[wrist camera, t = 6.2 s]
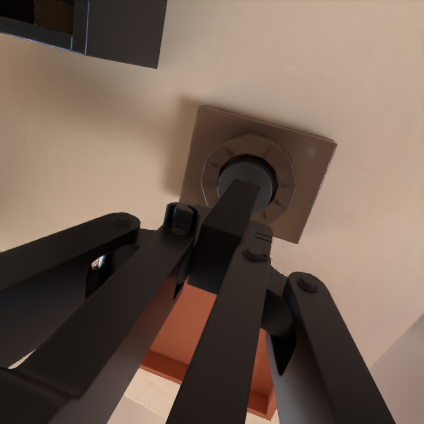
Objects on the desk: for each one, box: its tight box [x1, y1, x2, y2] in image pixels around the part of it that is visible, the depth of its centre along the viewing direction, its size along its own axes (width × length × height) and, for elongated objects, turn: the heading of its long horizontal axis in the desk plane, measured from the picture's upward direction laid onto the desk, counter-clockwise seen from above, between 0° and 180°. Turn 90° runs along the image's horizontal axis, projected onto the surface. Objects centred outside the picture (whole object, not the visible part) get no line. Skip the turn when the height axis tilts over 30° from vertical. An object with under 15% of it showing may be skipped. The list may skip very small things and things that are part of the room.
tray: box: [139, 275, 277, 421], centre depth 30 cm, size 17×12×3 cm
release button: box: [217, 158, 274, 214], centre depth 21 cm, size 4×4×2 cm
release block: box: [179, 106, 337, 244], centre depth 23 cm, size 10×8×4 cm
